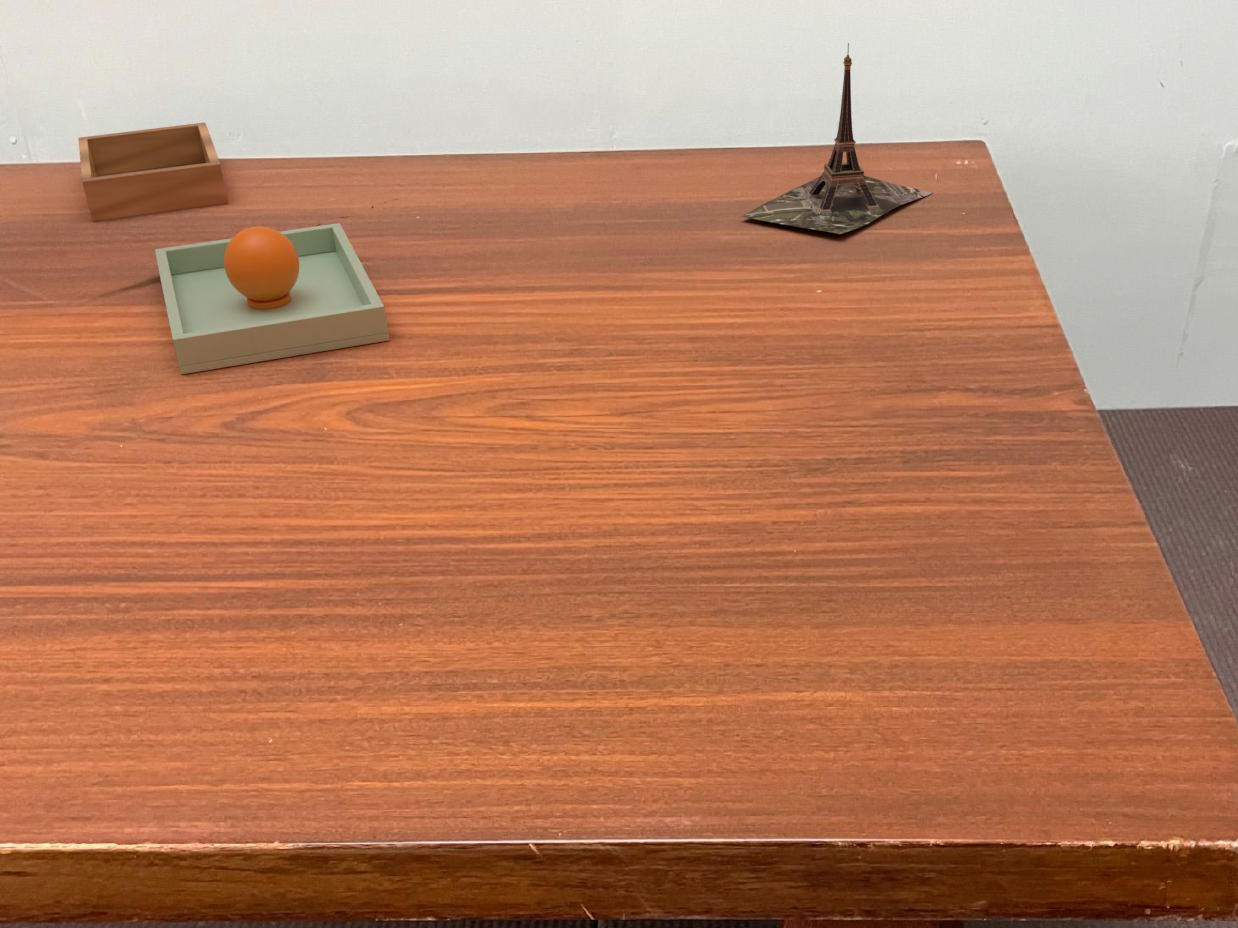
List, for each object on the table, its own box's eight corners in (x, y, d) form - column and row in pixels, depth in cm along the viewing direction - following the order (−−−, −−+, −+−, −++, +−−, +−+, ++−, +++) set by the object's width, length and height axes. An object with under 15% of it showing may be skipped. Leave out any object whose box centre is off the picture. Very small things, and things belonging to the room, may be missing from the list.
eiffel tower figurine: (834, 174, 133) (840, 16, 125) (933, 192, 128) (945, 29, 120) (740, 221, 124) (740, 53, 116) (843, 243, 118) (849, 69, 111)
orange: (260, 321, 107) (244, 246, 104) (218, 304, 110) (202, 230, 107) (320, 299, 110) (306, 225, 107) (278, 283, 113) (264, 211, 110)
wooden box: (230, 210, 130) (220, 163, 128) (94, 228, 127) (82, 181, 125) (214, 165, 142) (205, 122, 139) (89, 181, 139) (78, 137, 136)
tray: (389, 340, 105) (384, 306, 103) (181, 374, 101) (172, 339, 100) (345, 253, 120) (339, 222, 119) (162, 280, 116) (154, 248, 115)
